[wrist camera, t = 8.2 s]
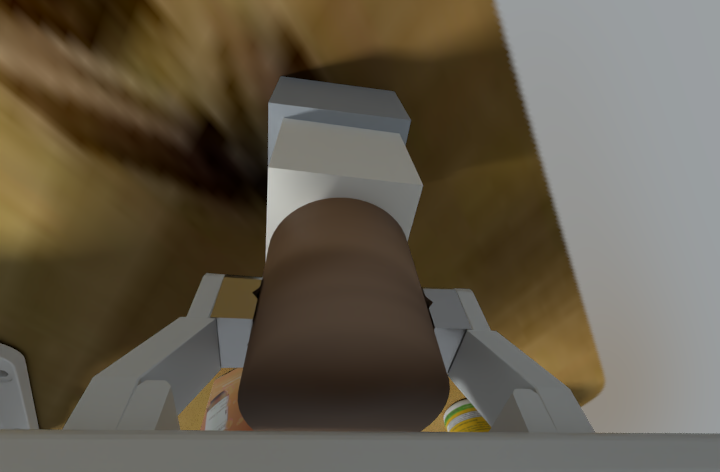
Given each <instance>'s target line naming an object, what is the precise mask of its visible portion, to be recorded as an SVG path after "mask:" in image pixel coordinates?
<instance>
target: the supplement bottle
mask: <svg viewBox="0 0 720 472" xmlns="http://www.w3.org/2000/svg"><path fill="white" fill-rule="evenodd" d="M444 423H445V427H446V431H447V432H489V431H490V429H491V426H490V425H489V424H488V423H487V421H486V420H485V419H484V418H483V417H482V415H481V414H480V413H479V412H478V411H477V410H476V408H475V407H474V406H473V405H472V404H471V402H470V401H469V400H468V399H465V400H461V401H459V402H456V403H455V404H453V405H452V406H450V407H449V408H448V409H447V410H446V412H445V414H444Z"/></svg>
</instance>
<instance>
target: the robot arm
mask: <svg viewBox="0 0 720 472" xmlns="http://www.w3.org/2000/svg"><path fill="white" fill-rule="evenodd" d="M262 281H263V277H252V276H240V275H228V274H226V275H224V274H212V273H206V274H205V275H204V276H203V278H202V280H201V283H200V285H199V287H198V290H197V292H196V295H195V297H194V299H193V302H192V304H191V307H190V309H189V311H188V314H187V316H186V317H179V318H178V319H176V320H175V321H173V322H172V323H171V324H169V325H168V326H166V327H165V328H163V329H162V330H160V331H159V332H158V333H156V334H155V335H153V336H152V337H150V338H149V339H147V340H146V341H145V342H143V343H142V344H140V345H139V346H137V347H136V348H134V349H133V350H132V351H130V352H129V353H127V354H126V355H124V356H123V357H121V358H120V359H119V360H117V361H116V362H114V363H113V364H111V365H110V366H108V367H107V368H106V369H104V370H103V371H101V372H100V373H98V374H97V375H95V376H94V377H93V378H92V380H91V382H90V383H89V385H88V387H87V388H86V390H85V392H84V394H83V395H82V397H81V399H80V400H79V402H78V404H77V405H76V407H75V409H74V410H73V412H72V414H71V416H70V417H69V419H68V421H67V422H66V424H65V426H64V427H63V429H62V430H46V429H39V426H38V421H37V416H36V411H35V406H34V402H33V397H32V392H31V387H30V382H29V377H28V372H27V367H26V362H25V358H24V356H23V355H22V354H21V353H20V352H19V351H17V350H15V349H13V348H11V347H9V346H6V345H4V344H1V343H0V472H720V434H702V433H701V434H699V433H695V434H694V433H692V434H691V433H683V434H682V433H595V431H594V429H593V428H592V426H591V424H590V423H589V421H588V419H587V417H586V416H585V414H584V412H583V411H582V409H581V407H580V405H579V404H578V402H577V400H576V399H575V397H574V395H573V394H572V392H571V390H570V389H569V388H568V387H567V386H565V385H564V384H563V383H562V382H560V381H559V380H558V379H556V378H555V377H554V376H553V375H551V374H550V373H549V372H548V371H546V370H545V369H544V368H542V367H541V366H540V365H539V364H537V363H536V362H535V361H534V360H532V359H531V358H530V357H528V356H527V355H526V354H525V353H523V352H522V351H521V350H519V349H518V348H517V347H516V346H514V345H513V344H512V343H511V342H509V341H508V340H507V339H505V338H504V337H503V336H502V335H500V334H499V333H498V332H497V331H491V330H490V327H489V325H488V323H487V321H486V319H485V317H484V315H483V313H482V311H481V308H480V306H479V304H478V302H477V300H476V298H475V296H474V294H473V291H471V290H470V289H458V288H453V289H451V288H432V287H421V289H422V292H423V295H424V299H425V302H426V305H427V309H428V312H429V315H430V319H431V322H432V325H433V329H434V332H435V335H436V339H437V342H438V345H439V349H440V352H441V355H442V358H443V362H444V365H445V368H446V372H447V374H448V376H449V378H450V379H451V380H452V381H453V382H454V384H455V385H456V386H457V387H458V388H459V389H460V391H461V392H462V393H463V394H464V395H465V397H466V398H467V399H468V400H469V401H470V402H471V404H472V405H473V406H474V407H475V408H476V410H477V411H478V412H479V413H480V414H481V415H482V417H483V418H484V419H485V420H486V421H487V423H488V424H489V425H490V426H491V429H490V431H489V432H360V431H214V430H180V426H179V421H178V417H177V416H178V415H179V414H180V413H181V412H182V411H183V409H184V408H185V407H186V406H187V405H188V404H189V403H190V402H191V401H192V400H193V399H194V398H195V397H196V396H197V394H198V393H199V392H200V391H201V390H202V389H203V388H204V387H205V386H206V385H207V384H208V383H209V382H210V380H211V379H212V378H213V377H214V376H215V375H216V374H217V373H218V372H219V371H220V370H221V369H220V368H243V366H244V361H245V357H246V352H247V347H248V343H249V338H250V333H251V330H252V326H253V323H254V318H255V314H256V309H257V304H258V297H259V293H260V290H261V285H262Z"/></svg>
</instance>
